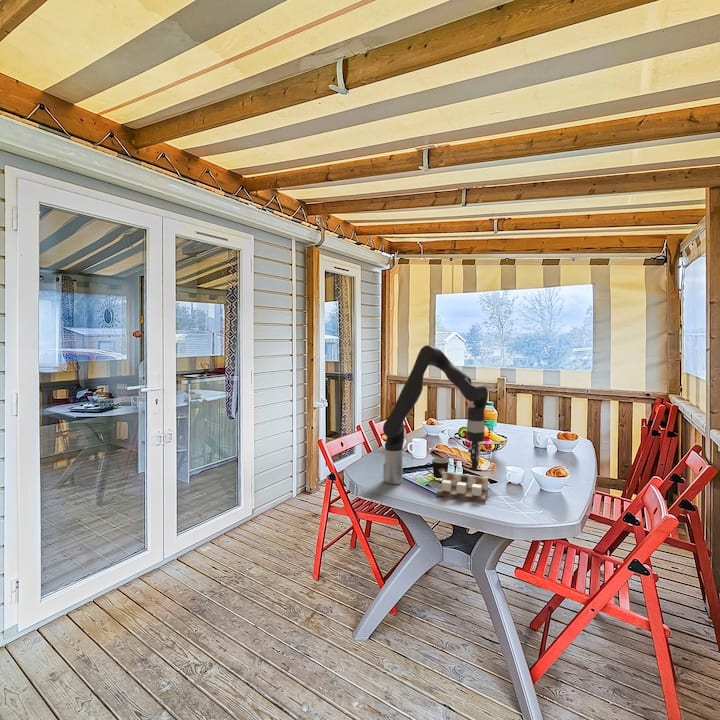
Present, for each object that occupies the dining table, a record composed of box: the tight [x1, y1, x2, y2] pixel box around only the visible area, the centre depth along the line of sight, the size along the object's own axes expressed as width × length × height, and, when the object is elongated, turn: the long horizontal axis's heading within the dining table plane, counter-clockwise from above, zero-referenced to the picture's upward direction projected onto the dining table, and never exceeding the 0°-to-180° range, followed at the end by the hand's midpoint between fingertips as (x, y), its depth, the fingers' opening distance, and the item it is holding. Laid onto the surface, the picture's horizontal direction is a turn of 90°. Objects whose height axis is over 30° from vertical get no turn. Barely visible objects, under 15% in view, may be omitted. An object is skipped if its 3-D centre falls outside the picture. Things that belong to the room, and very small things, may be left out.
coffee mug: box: [424, 457, 449, 478], centre depth 220 cm, size 12×9×10 cm
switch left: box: [441, 480, 452, 492], centre depth 198 cm, size 4×4×4 cm
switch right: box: [472, 484, 482, 496], centre depth 192 cm, size 4×4×4 cm
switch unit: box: [436, 471, 489, 504], centre depth 198 cm, size 22×12×8 cm, turn 67°
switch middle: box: [456, 482, 467, 494], centre depth 195 cm, size 4×4×4 cm
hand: (475, 467), depth 185 cm, fingers open, 3 cm apart
